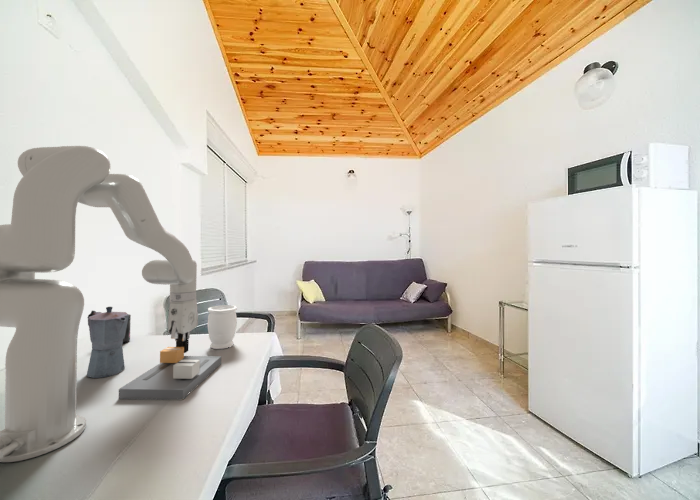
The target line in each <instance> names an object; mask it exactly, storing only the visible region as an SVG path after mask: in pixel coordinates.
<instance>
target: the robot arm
mask: <svg viewBox="0 0 700 500" xmlns="http://www.w3.org/2000/svg"><path fill="white" fill-rule="evenodd" d="M17 167H18V171H19V172H20V173H21V176H22V177H21V179H20V180H19V181H18V183H17V185H16V188H15V190H14V192H13V193H14V194H13V200H12V207H11V208H12V211H11V219H10V220H11V221H10V224H9V223H8V224H7V223H6V224H0V327H3V328H15V332H14V334H13V336H12V338H11V340H10V343H9V344H8V347H7V350H6V352H5V361H4V362H5V364H4V365H5V368H4V369H5V380H4V381H5V385H4V388H5V391H4V394H5V395H4V398H5V399H4V429H2V430H0V463H13V462H14V463H15V462H20V461H25V460H30V459H33V458H35V457H39V456H42V455H45V454H47V453H50V452H53V451H55V450H56V449H59V448H61V447H63V446H65V445H66V444H69V443H70V442H72V441H73V440H74V439H76V438H77V437H79V436H80V435H81V434H82V433H83V431H84V430H86V427H87V419H86V418H85V417H84V416H81V415H78V414H77V374H78V373H77V372H78V371H77V370H78V336H79V328H80V322H81V320H82V315H83V311H84V308H85V297H84V294H83V293H82V291H81V290H80V289H79V288H78V287H77V286H76V285H74V284H72V283H69V282H68V281H67V282H66V281H63V280H58V279H47V278H46V279H43V278H36V274H37V273H40V274H43V273H44V274H45V273H56V272H60V271H62V270H65V269H67V268H68V267H69V266H71V264H72V263H73V262H74V259H75V254H76V214H77V206H78V203H79V204H82V205H85V206H89V207H94V208H110V209H111V212H112V213H113V215H114V217H115V218H116V221H117V222H118V224H119V226H120V228H121V229H122V231H123V233H124V235H125V236H126V238H128V239H129V240H130V241H133V242H135V243H136V244H138V245H141V246H143V247H145V248H148V249H151V250H153V251H155V252H157V253H158V254H159V255H161V256H162V257H163V258H165V259H154V260H153V259H152V260H151V261H150V260H149V261H148V262H147V263H145V264H144V266H143V267H142V270H141V276H142V278H143V280H144V281H146V282H147V283H149V284H154V285H169V307H168V317H167V332H168V333H169V334H170V339H171V340H173V339H174V340H175V347H184V354H186V353H188V352H189V345H190V344H189V343H190V342H189V340H190V335H191V332H192V331H193V330H194V329H195V328H197V327H198V325H199V319H198V318H199V313H198V302H197V273H198V272H197V270H198V269H197V266H198V265H197V262H196V260H194V259H193V258H192V255H191V253H190V251H189V249H188V248H187V246H186V245H185V244H184V243H183V242H182V241H181V240H179V238H177V237H176V236H175V235H174V234H173V233H171V232H170V231H169V230H168V229H166V228H164V227H163V225H162V224H161V222H160V220H159V217H158V216H157V213H156V212H155V209H154V208H153V206H152V203H151V201H150V199H149V196H148V194H147V193H146V191H145V188H144V186H143V185H142V184H143V183H141V182H140V180H139V179H138V178H136V177H134V176H133V175H129V174H126V173H111V172H110V171H111V162H110V160H109V157H108V156H107V155H106V154H105V153H104V152H103V151H102V150H100V149H98V148H94V147H91V146H88V145H87V146H86V145H66V146H65V145H64V146H63V145H62V146H61V145H60V146H47V147H46V146H45V147H44V146H41V147H31V148H29V149H26V150H25V151H24V152H22V153H21V154H20V155H19V156H18V157H17Z"/></svg>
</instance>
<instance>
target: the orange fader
mask: <svg viewBox="0 0 700 500" xmlns="http://www.w3.org/2000/svg"><path fill="white" fill-rule="evenodd" d="M184 356H185V353H184V347H176V346H167V347H165V348H163V349H162V350H160V351H159V364H160V363H177V362H179V361H180V360H182V359H183V358H184Z"/></svg>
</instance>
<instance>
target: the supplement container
mask: <svg viewBox="0 0 700 500" xmlns="http://www.w3.org/2000/svg"><path fill="white" fill-rule="evenodd" d="M127 314H128V313H127ZM128 315H129V318H128V323H127V328H126V333H125V338H124V339H123V344H122V345H125V344H127V343H129V342H130V341H131V319H132V318H131V316H132V315H131V314H128Z"/></svg>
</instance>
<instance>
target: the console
mask: <svg viewBox="0 0 700 500" xmlns="http://www.w3.org/2000/svg"><path fill="white" fill-rule="evenodd" d="M182 360H200V370H199V373H198V374H197V375H196V376H194V377H193V378H192V379H176V378H173V365H175V364H176V363H160V362H159V363H158V364H156V365H155V366H153V367H152V368H150V369H149V370H147V371H145V372H144V373H142V374H141V375H139V376H137V377H136V378H134V379H132V380H131V381H129V382H128V383H126V384H125V385H123V386H122V387H120V388H119V389H118V400H163V401H164V400H165V401H168V400H170V399H183V398H184V397H185V396H186V395H187V394H188V393H189V392H191V391H192V390H193V389H194V388H195V387H196V386H197V385H198V386H199V385H200V384H201V383H202V382H203V381H205V379H207V378H208V377H209V376H210V375H211V374H212V373H214V371H216V369H217V368H219V367H220V365H221V364H222V356H218V355H217V356H215V355H184V358H183V359H182ZM180 361H181V360H180ZM177 363H178V362H177ZM208 375H209V376H208ZM207 376H208V377H207ZM206 377H207V378H206ZM198 386H197V387H198ZM197 387H196V388H197ZM196 388H195V389H196ZM195 389H194V390H195ZM194 390H193V391H194ZM193 391H192V392H193ZM192 392H191V393H192ZM188 395H189V394H188ZM188 395H187V396H188ZM187 396H186V397H187ZM186 397H185V398H186ZM185 398H184V399H185ZM184 399H183V400H184Z"/></svg>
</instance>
